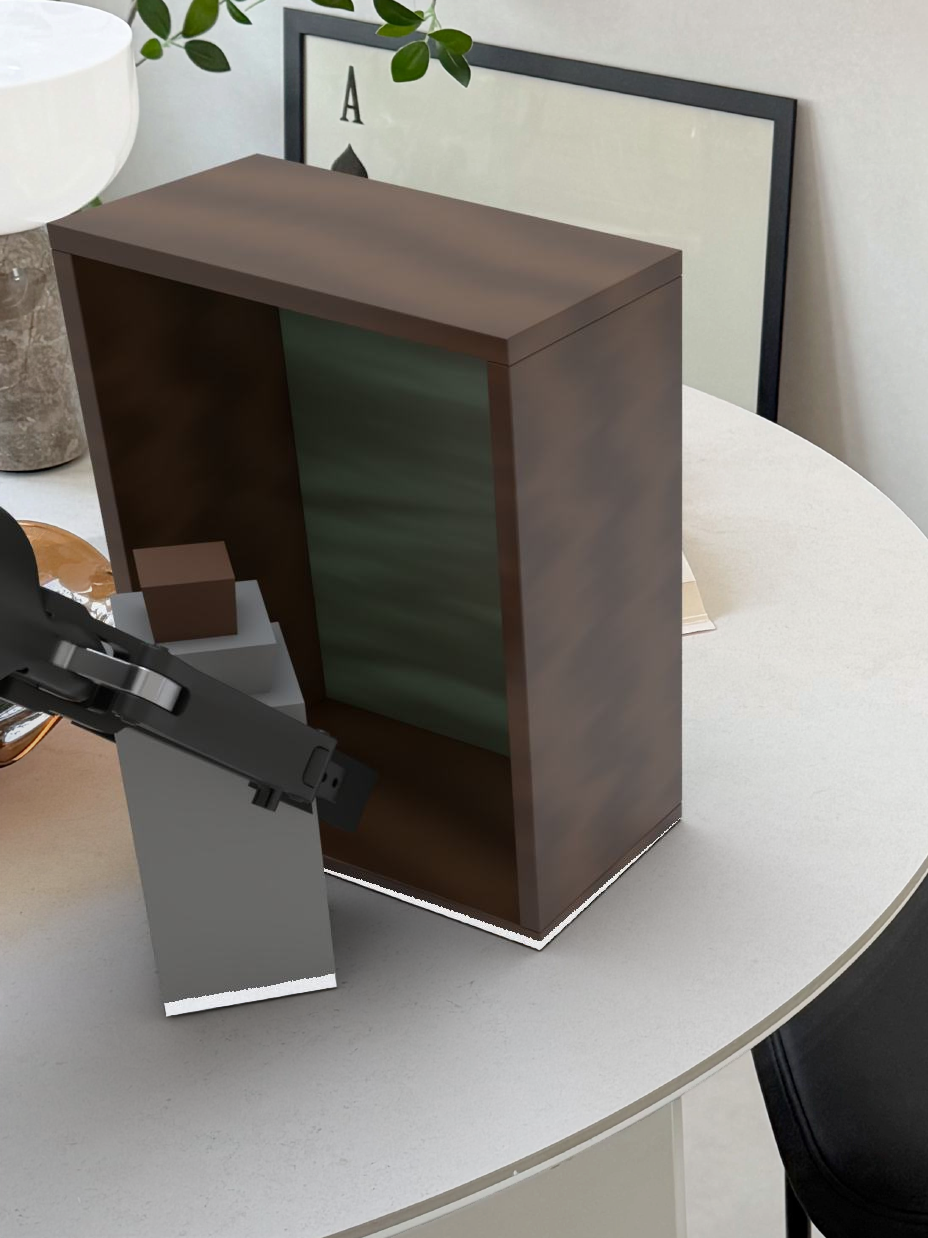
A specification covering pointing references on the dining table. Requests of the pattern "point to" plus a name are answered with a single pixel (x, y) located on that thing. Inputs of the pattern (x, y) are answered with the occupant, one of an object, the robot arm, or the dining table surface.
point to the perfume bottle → (218, 796)
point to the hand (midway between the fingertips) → (273, 770)
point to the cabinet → (414, 498)
